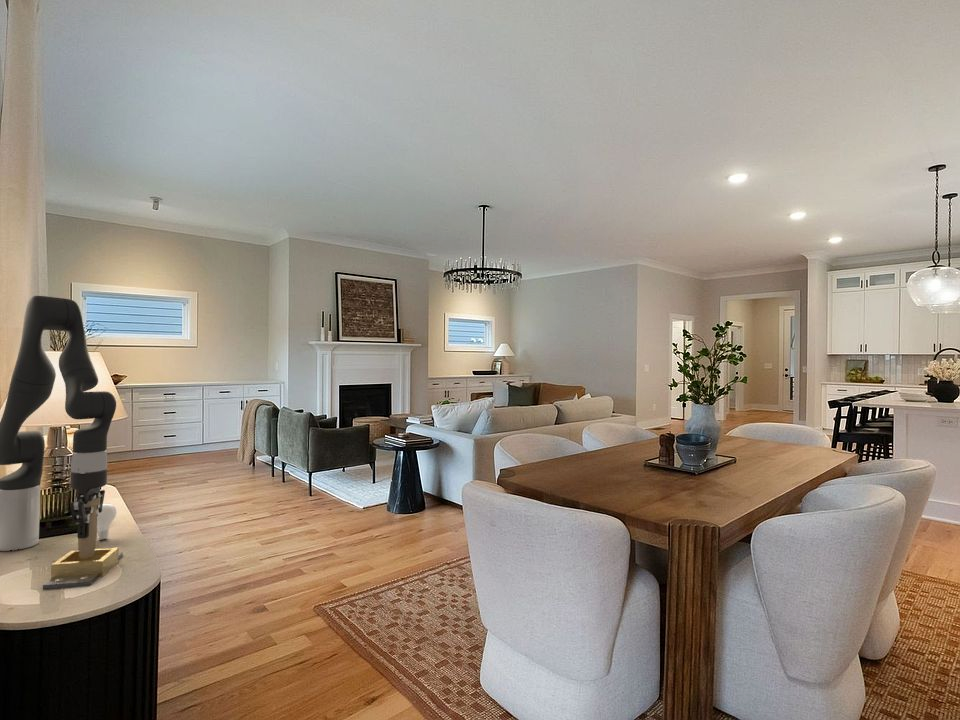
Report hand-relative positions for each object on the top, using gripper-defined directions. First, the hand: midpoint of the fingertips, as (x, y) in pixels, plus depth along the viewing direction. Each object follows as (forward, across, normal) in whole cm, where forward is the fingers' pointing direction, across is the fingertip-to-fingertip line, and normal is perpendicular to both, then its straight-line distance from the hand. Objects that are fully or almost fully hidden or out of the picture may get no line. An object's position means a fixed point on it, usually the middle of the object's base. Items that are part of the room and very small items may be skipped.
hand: (87, 534), depth 132 cm
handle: (+6, 0, 0) cm, 6 cm away
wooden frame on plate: (+9, 0, 0) cm, 9 cm away
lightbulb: (+10, -26, -6) cm, 28 cm away
